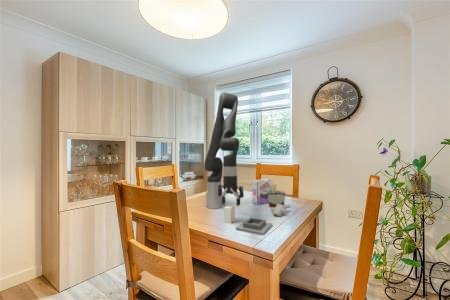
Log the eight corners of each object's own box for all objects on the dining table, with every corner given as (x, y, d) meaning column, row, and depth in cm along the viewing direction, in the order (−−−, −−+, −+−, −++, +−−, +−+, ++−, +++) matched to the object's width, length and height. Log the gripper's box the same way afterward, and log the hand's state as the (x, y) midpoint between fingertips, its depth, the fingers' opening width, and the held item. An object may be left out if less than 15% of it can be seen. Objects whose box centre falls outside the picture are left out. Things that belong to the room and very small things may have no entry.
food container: (284, 205, 148) (284, 190, 148) (286, 207, 142) (286, 192, 142) (266, 204, 149) (266, 190, 149) (266, 207, 143) (266, 192, 143)
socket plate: (235, 229, 106) (235, 223, 105) (247, 220, 118) (247, 215, 118) (263, 235, 99) (263, 228, 99) (272, 225, 111) (272, 219, 111)
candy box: (257, 204, 149) (257, 181, 149) (252, 203, 155) (252, 180, 154) (272, 202, 156) (272, 179, 155) (267, 200, 161) (267, 178, 161)
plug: (224, 222, 116) (224, 207, 116) (228, 219, 120) (228, 205, 120) (230, 223, 114) (230, 208, 114) (235, 220, 118) (235, 206, 118)
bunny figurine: (268, 209, 126) (276, 200, 139) (268, 217, 127) (276, 208, 140) (284, 211, 121) (291, 202, 134) (284, 220, 122) (291, 210, 135)
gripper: (245, 174, 117) (245, 204, 117) (221, 173, 124) (222, 201, 124) (239, 176, 110) (240, 207, 110) (215, 175, 117) (215, 205, 117)
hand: (230, 204), depth 117 cm, fingers open, 8 cm apart
